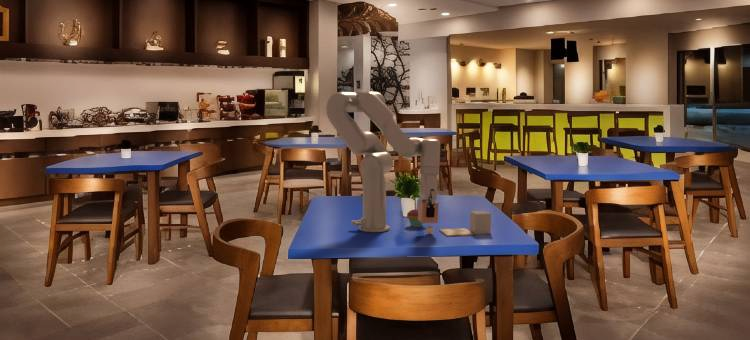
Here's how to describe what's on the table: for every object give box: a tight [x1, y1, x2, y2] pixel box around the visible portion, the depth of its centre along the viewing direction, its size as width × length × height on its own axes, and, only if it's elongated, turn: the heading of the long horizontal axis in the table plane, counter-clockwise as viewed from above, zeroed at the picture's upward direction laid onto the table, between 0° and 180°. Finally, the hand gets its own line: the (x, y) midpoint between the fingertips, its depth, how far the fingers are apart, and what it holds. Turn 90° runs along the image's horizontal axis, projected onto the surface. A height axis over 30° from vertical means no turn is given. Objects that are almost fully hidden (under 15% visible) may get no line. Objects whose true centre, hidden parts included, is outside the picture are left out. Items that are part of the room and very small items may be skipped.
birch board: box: [438, 227, 475, 237], centre depth 246 cm, size 11×11×1 cm
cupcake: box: [406, 198, 424, 228], centre depth 260 cm, size 9×8×12 cm
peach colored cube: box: [417, 199, 439, 224], centre depth 243 cm, size 6×6×8 cm
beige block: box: [469, 210, 492, 235], centre depth 247 cm, size 6×6×8 cm
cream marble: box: [425, 225, 435, 235], centre depth 244 cm, size 3×3×3 cm
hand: (427, 215), depth 243 cm, fingers closed on peach colored cube, 6 cm apart
